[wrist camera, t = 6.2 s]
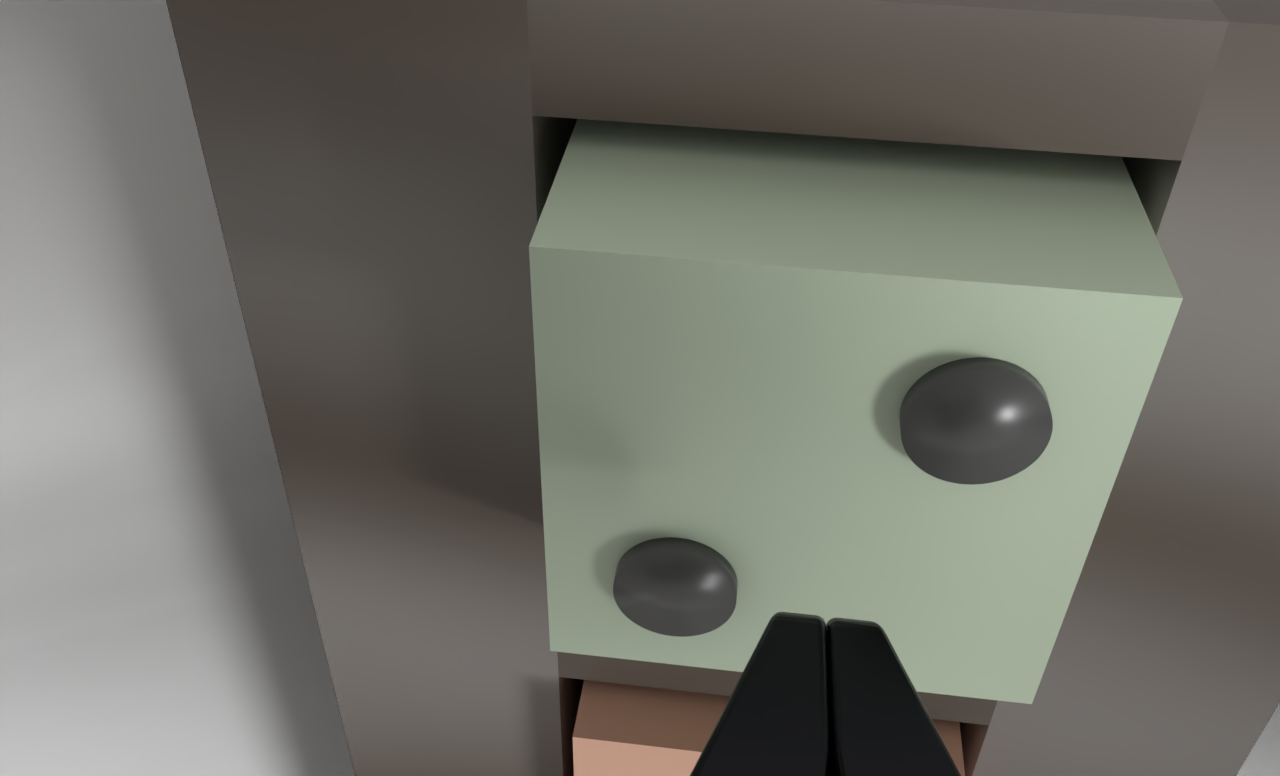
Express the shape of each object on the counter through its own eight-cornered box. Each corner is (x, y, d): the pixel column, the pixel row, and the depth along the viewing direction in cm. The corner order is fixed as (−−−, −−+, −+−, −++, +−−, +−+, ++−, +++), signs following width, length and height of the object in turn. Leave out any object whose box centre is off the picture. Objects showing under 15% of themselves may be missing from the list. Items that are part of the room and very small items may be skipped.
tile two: (592, 79, 12) (522, 260, 9) (1102, 114, 11) (1190, 313, 8) (596, 451, 15) (546, 666, 12) (996, 489, 14) (1034, 721, 12)
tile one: (608, 556, 17) (570, 750, 15) (944, 590, 17) (967, 797, 14) (609, 750, 20) (577, 939, 18) (893, 783, 20) (903, 982, 17)
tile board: (266, -121, 12) (155, -42, 10) (1513, -57, 11) (1666, 48, 9) (460, 972, 27) (432, 1090, 25) (987, 1044, 26) (1000, 1173, 24)
